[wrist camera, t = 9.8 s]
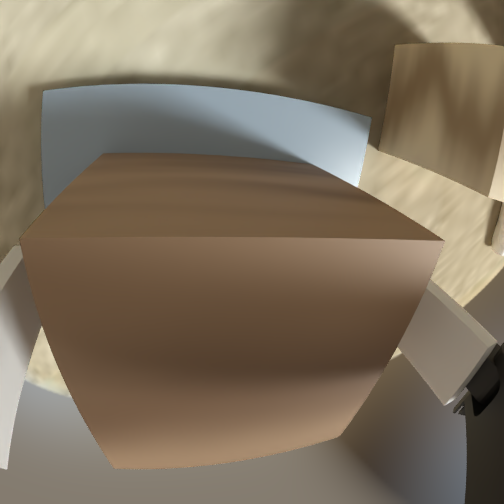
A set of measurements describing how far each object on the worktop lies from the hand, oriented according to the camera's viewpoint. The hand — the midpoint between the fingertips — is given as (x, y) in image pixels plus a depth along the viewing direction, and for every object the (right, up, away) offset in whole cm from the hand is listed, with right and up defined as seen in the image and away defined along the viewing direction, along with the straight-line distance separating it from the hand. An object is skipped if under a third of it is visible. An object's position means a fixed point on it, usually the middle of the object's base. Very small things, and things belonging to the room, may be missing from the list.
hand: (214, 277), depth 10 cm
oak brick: (+11, +9, +3) cm, 14 cm away
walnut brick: (-1, +1, +2) cm, 2 cm away
